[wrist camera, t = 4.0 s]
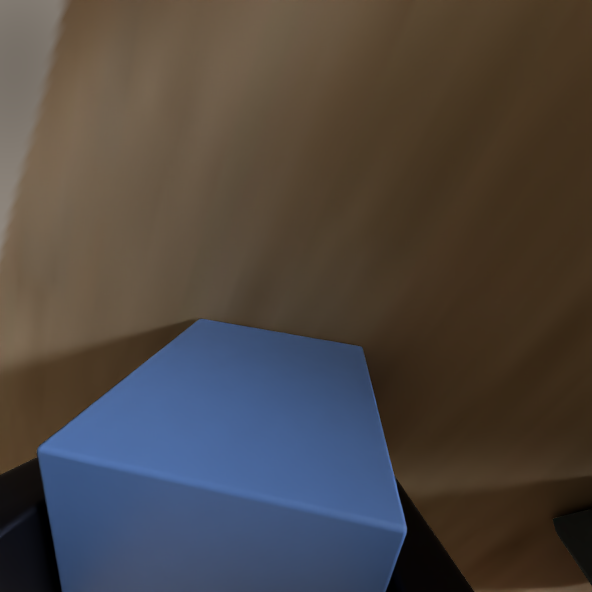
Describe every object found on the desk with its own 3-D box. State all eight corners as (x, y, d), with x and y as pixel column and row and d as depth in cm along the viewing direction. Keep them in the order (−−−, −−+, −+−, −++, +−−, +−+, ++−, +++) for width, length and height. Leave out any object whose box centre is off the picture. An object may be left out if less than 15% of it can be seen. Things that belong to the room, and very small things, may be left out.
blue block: (363, 345, 7) (410, 531, 3) (333, 475, 9) (337, 733, 4) (199, 317, 8) (32, 448, 3) (195, 446, 9) (71, 658, 5)
